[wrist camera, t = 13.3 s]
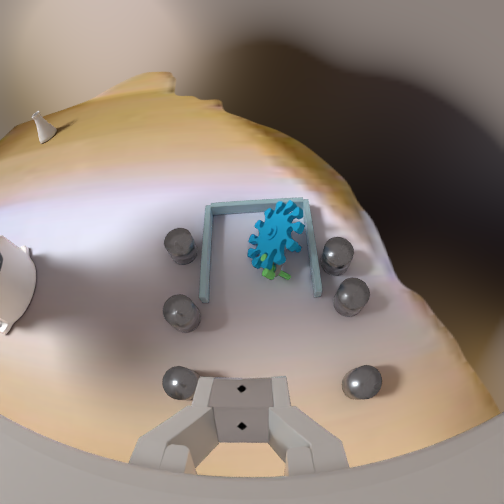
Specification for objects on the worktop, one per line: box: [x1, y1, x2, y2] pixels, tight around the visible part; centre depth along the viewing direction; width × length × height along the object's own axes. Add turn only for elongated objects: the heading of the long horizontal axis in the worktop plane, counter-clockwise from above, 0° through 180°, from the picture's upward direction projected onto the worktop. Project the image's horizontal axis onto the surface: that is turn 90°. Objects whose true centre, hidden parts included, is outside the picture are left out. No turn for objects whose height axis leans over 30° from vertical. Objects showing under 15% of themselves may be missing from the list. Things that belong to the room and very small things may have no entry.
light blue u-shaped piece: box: [199, 197, 322, 303], centre depth 40 cm, size 16×15×2 cm
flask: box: [32, 111, 57, 144], centre depth 63 cm, size 7×7×10 cm
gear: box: [248, 200, 305, 280], centre depth 38 cm, size 11×6×10 cm
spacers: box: [163, 228, 382, 400], centre depth 34 cm, size 26×24×4 cm
